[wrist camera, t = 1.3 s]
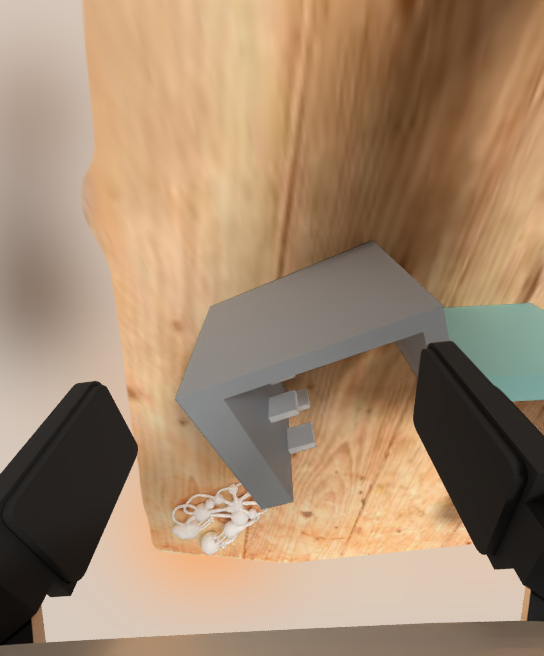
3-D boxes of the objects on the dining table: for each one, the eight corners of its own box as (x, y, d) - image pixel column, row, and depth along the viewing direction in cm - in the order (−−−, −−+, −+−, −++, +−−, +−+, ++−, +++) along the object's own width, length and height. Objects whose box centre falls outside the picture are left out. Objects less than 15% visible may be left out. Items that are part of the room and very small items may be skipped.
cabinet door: (530, 302, 38) (641, 369, 26) (519, 332, 40) (617, 406, 28) (413, 309, 38) (472, 377, 27) (407, 338, 40) (460, 413, 29)
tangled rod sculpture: (230, 460, 54) (226, 481, 51) (286, 501, 59) (286, 523, 55) (162, 507, 61) (154, 529, 57) (217, 542, 65) (213, 564, 61)
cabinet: (372, 240, 34) (442, 305, 20) (403, 352, 41) (470, 457, 27) (210, 306, 38) (174, 399, 24) (265, 398, 45) (261, 509, 31)
